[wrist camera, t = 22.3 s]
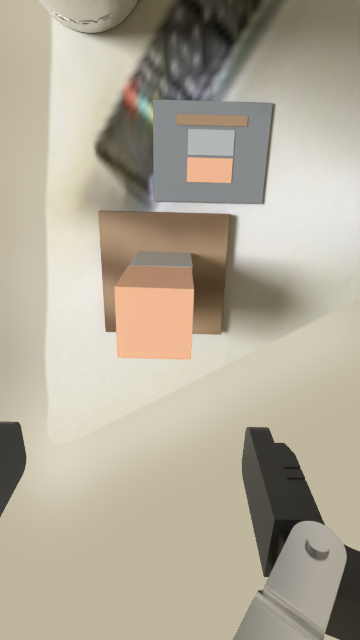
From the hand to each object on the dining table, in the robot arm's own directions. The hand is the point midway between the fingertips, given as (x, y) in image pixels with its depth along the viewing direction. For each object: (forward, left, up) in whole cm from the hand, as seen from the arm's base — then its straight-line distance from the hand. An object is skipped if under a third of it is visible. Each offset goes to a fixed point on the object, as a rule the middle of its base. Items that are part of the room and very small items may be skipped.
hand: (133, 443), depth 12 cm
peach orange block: (0, 0, -17) cm, 17 cm away
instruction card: (-11, +4, -24) cm, 27 cm away
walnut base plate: (0, 0, -24) cm, 24 cm away
